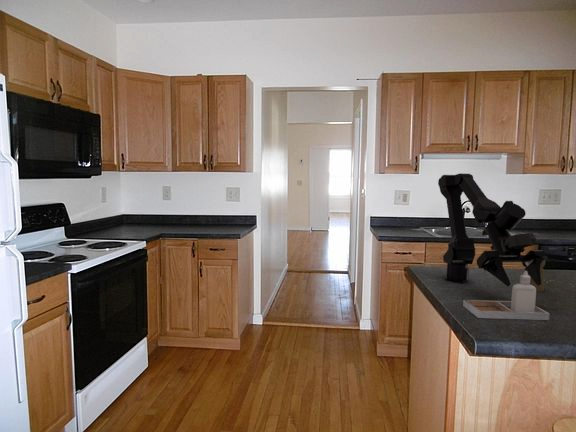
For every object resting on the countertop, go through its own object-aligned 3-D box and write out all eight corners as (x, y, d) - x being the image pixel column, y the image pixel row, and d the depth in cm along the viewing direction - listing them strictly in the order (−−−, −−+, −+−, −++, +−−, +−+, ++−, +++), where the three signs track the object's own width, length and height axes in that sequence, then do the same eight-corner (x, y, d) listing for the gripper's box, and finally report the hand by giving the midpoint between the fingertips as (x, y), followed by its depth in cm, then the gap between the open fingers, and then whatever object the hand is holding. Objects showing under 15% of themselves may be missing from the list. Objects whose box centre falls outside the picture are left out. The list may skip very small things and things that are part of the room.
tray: (478, 318, 104) (478, 311, 104) (463, 305, 113) (463, 299, 113) (549, 320, 103) (549, 313, 103) (527, 307, 113) (528, 301, 113)
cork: (547, 292, 128) (550, 259, 127) (527, 290, 130) (530, 258, 128) (539, 286, 134) (542, 255, 133) (520, 285, 135) (523, 254, 134)
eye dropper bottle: (533, 317, 105) (537, 274, 104) (509, 313, 108) (513, 271, 107) (534, 313, 108) (538, 271, 107) (511, 308, 112) (514, 267, 110)
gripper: (485, 222, 110) (508, 270, 100) (545, 222, 112) (574, 269, 102) (467, 245, 118) (487, 291, 109) (523, 244, 121) (548, 290, 111)
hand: (524, 285), depth 107 cm, fingers open, 9 cm apart
